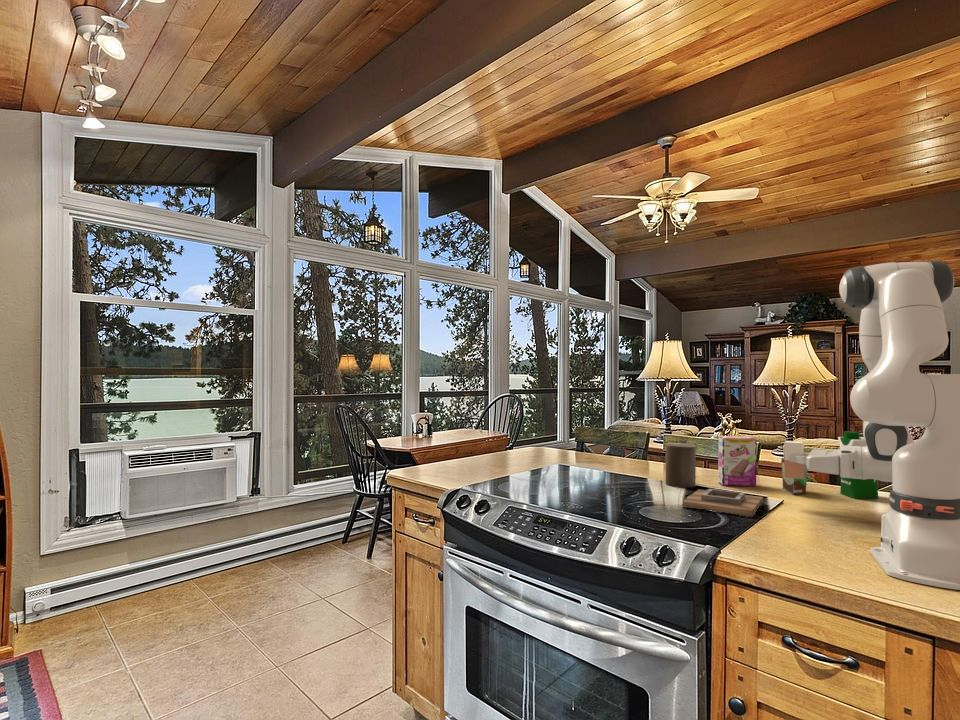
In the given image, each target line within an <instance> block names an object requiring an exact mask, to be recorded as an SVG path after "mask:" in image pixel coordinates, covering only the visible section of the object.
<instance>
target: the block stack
mask: <svg viewBox="0 0 960 720" xmlns="http://www.w3.org/2000/svg"><path fill="white" fill-rule="evenodd" d="M783 448H784V449H783V451H784V452H783V454H784V456H783V458H784V470H785V477H787V478H797V479H803V478H804V464H800V463H795V462H790V461H789V457H790V456H791V455H795V456H804V453H805V442H804V441H798V440H796V441H795V440H785V441H784V442H783Z"/></svg>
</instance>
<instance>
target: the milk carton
mask: <svg viewBox="0 0 960 720" xmlns="http://www.w3.org/2000/svg"><path fill="white" fill-rule="evenodd" d="M837 439H838V443H839V450H841V445H847V446H863V447H865V446H867V443H866V441H865V439H864V436H860V432H859V431H854V430H844V431H843V436H838V437H837ZM878 489H879V488H878V480H877V479H865V480H864V479H852V478H842V477H840V490H839V491H840V492H839V494H840V495H844V496H846V497H850V498H851V499H855V500H879V490H878Z"/></svg>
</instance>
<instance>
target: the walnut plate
mask: <svg viewBox="0 0 960 720" xmlns="http://www.w3.org/2000/svg"><path fill="white" fill-rule="evenodd" d="M762 502H763V503H764V497H763V496H756V495H755V496H754V495H749V494H746V492H741V491H740V492H739V491H733V490H724V489H716V488H708V489H697V490H696V491H694V492H693V493H692V494H690V495H689V496H688V497H686V498H685V499H684V500H683V501H682V508H683V507H690V508H697V509H706V510H712V511H719V512H725V513H731V514H739V515H745V516H753V515H754V514H755V512H756V511H757V509H758V508H759V506H760V505H761V503H762ZM757 512H758V511H757ZM755 515H756V514H755ZM755 515H754V516H755Z"/></svg>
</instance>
